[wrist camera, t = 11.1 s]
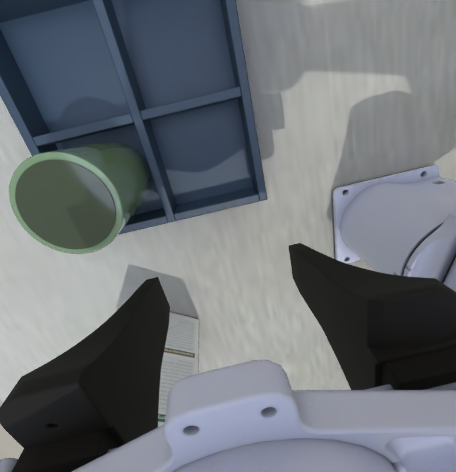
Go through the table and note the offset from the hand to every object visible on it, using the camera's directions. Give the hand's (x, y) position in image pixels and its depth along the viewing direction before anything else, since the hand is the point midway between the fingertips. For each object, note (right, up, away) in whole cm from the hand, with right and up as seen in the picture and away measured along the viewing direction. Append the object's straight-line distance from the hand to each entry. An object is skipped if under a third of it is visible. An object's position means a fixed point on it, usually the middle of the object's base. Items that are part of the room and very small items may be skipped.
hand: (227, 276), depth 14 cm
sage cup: (-9, +7, +7) cm, 13 cm away
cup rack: (-6, +11, +6) cm, 14 cm away
